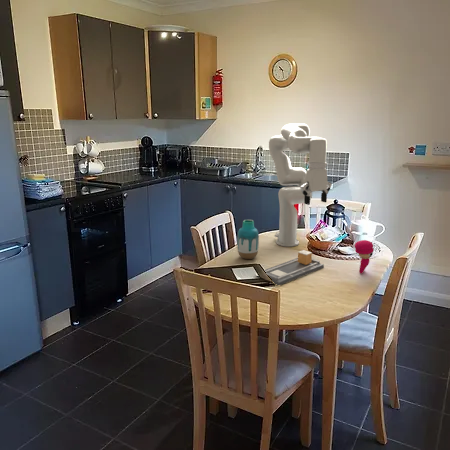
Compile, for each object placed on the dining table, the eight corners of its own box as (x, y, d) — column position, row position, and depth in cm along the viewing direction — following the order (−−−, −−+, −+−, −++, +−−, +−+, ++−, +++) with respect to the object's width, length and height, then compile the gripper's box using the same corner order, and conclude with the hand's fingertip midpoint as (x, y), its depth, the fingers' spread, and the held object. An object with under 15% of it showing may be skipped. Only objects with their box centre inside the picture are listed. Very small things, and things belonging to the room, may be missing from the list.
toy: (372, 276, 191) (375, 244, 187) (353, 274, 193) (355, 243, 189) (370, 269, 199) (373, 238, 195) (351, 268, 201) (354, 237, 197)
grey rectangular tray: (300, 259, 212) (300, 254, 211) (323, 267, 202) (323, 262, 201) (255, 276, 192) (255, 270, 192) (278, 285, 182) (278, 279, 181)
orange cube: (303, 259, 206) (303, 249, 204) (311, 262, 202) (312, 252, 201) (297, 261, 203) (297, 251, 202) (305, 264, 200) (306, 254, 198)
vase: (235, 261, 211) (235, 223, 205) (239, 253, 221) (239, 217, 215) (257, 262, 209) (257, 224, 203) (259, 254, 219) (260, 218, 213)
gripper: (326, 163, 201) (324, 199, 206) (296, 166, 193) (295, 203, 198) (337, 165, 195) (335, 202, 199) (307, 168, 187) (305, 206, 192)
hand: (315, 203), depth 199 cm, fingers open, 9 cm apart
